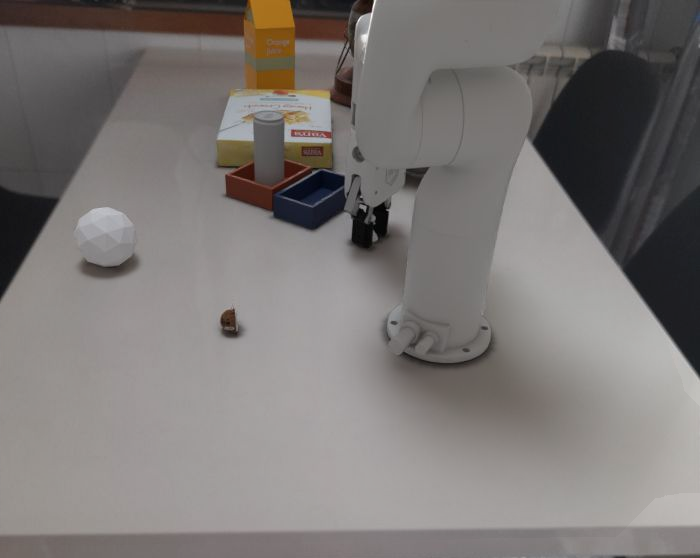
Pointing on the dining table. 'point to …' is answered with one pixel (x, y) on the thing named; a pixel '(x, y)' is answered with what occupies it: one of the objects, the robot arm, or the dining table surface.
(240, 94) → the cereal box
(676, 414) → the dining table surface
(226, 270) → the dining table surface
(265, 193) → the terracotta bin
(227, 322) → the chocolate
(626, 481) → the dining table surface
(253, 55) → the orange juice
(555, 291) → the dining table surface
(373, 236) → the chess pawn
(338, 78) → the lantern
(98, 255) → the geometric ball
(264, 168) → the beverage can
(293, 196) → the navy bin
